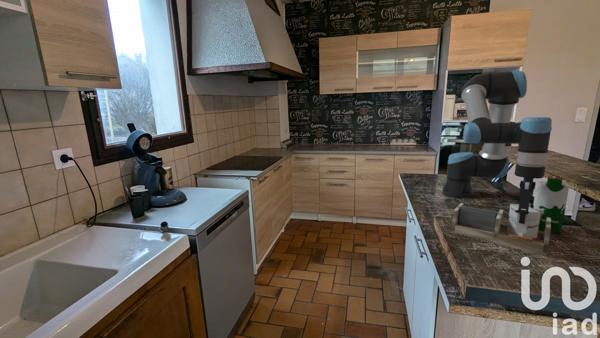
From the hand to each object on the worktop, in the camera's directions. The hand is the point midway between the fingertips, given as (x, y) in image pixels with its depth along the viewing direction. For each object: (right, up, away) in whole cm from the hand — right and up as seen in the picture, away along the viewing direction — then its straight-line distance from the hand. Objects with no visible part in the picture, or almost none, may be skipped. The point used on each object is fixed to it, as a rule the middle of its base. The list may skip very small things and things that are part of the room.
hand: (522, 225), depth 93 cm
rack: (-5, -5, +6) cm, 9 cm away
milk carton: (+19, -4, +12) cm, 23 cm away
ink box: (+1, -5, +1) cm, 6 cm away
